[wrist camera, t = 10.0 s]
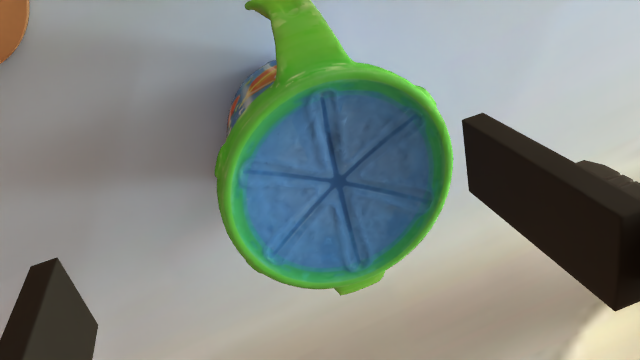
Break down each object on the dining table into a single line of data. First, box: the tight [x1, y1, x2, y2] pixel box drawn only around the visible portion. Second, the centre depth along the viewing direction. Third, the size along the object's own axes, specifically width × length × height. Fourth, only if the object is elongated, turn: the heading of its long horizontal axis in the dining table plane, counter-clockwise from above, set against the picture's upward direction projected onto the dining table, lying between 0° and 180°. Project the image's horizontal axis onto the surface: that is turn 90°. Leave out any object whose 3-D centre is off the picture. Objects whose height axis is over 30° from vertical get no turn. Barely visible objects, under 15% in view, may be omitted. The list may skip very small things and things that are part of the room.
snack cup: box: [215, 0, 453, 296], centre depth 26 cm, size 16×10×10 cm
